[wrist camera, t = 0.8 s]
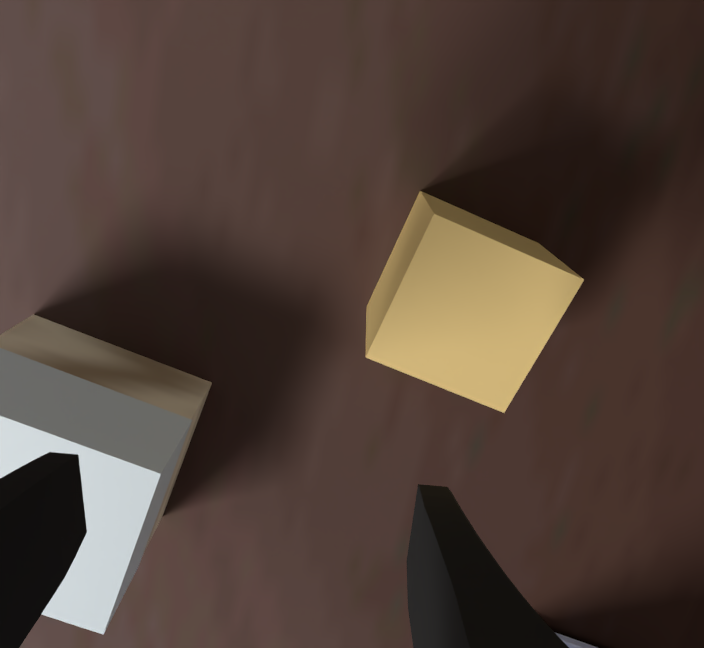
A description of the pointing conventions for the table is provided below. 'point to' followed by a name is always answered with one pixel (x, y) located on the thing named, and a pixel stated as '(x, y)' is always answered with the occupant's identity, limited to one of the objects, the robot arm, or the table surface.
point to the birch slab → (112, 373)
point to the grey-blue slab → (92, 473)
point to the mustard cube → (466, 303)
